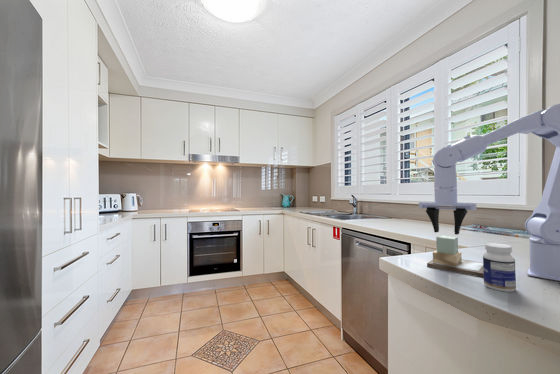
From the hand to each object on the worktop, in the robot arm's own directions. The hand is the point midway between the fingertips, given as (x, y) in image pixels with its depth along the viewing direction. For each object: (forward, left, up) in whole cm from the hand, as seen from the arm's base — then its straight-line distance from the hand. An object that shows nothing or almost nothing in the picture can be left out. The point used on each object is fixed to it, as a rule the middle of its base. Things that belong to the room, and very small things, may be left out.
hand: (446, 233), depth 75 cm
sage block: (0, 0, -6) cm, 6 cm away
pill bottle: (-13, +11, -10) cm, 20 cm away
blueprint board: (-3, -1, -10) cm, 10 cm away
